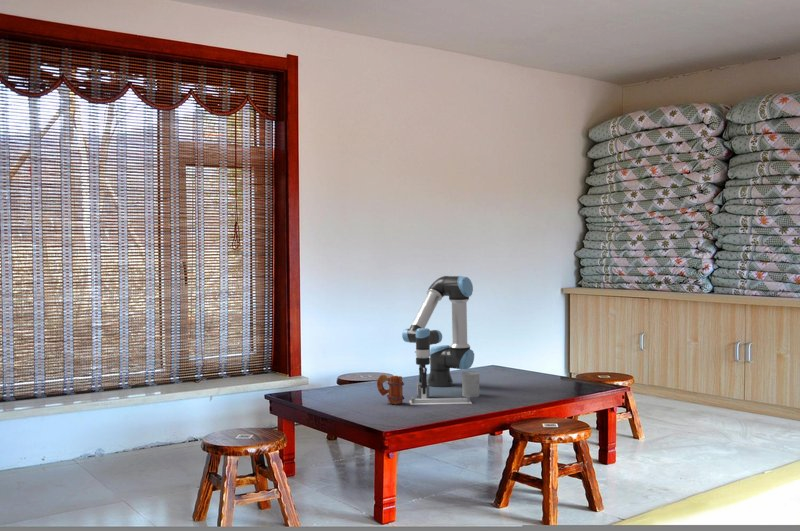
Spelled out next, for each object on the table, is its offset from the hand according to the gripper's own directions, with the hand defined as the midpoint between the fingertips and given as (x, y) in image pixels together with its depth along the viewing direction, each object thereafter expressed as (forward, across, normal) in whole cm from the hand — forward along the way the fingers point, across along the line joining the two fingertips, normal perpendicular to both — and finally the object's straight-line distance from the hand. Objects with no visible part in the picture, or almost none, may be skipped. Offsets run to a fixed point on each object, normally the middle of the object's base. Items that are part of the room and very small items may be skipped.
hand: (422, 397), depth 418 cm
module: (0, 0, 0) cm, 0 cm away
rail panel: (0, +12, +8) cm, 15 cm away
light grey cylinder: (0, -6, +27) cm, 28 cm away
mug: (0, +12, -18) cm, 22 cm away
